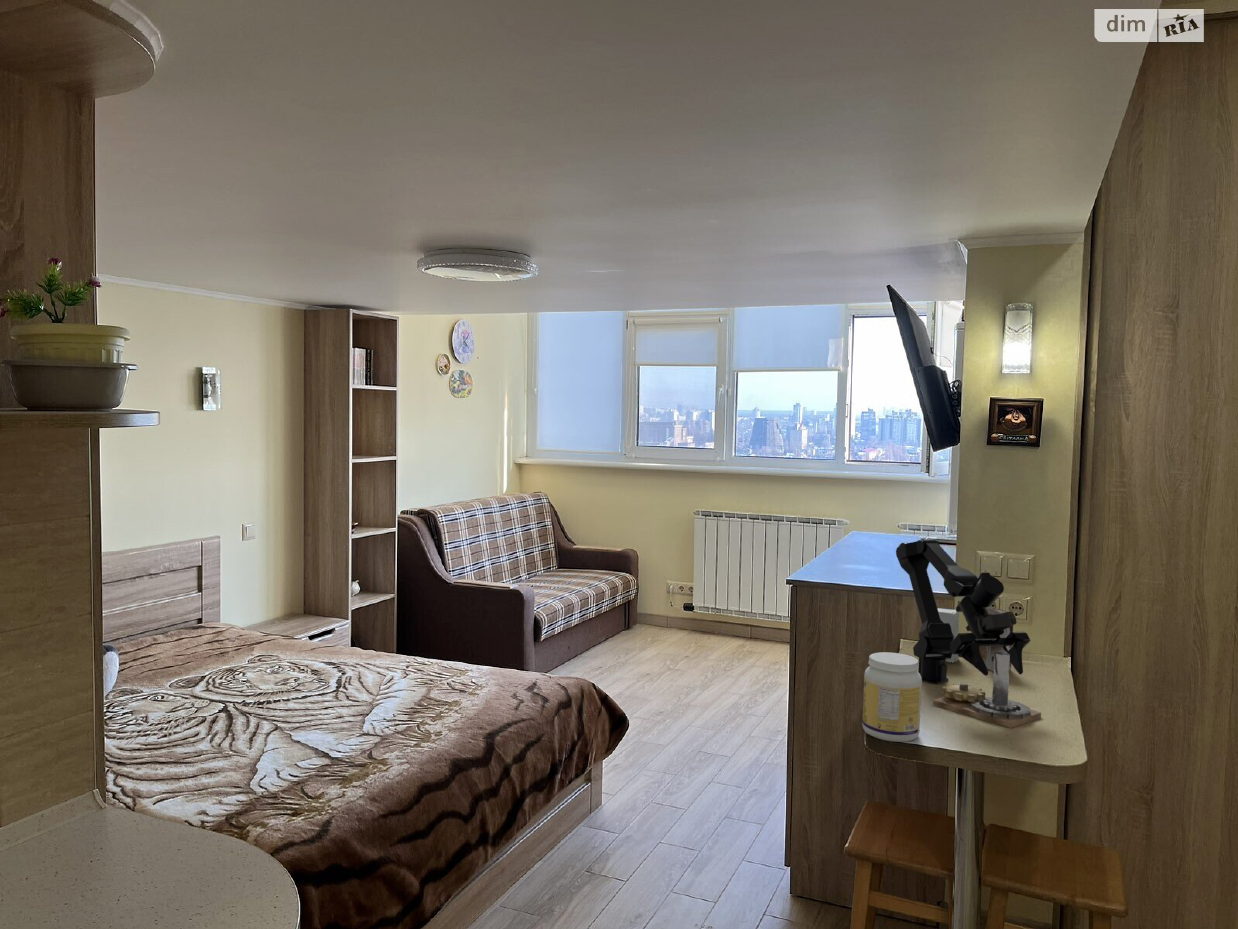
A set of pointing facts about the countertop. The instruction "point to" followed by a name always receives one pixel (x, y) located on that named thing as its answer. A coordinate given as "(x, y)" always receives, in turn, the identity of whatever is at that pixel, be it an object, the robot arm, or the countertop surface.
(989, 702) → the gear
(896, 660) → the supplement tub
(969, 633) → the robot arm
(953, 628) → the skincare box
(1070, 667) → the countertop surface
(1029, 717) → the gear board
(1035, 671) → the countertop surface
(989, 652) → the coffee box
